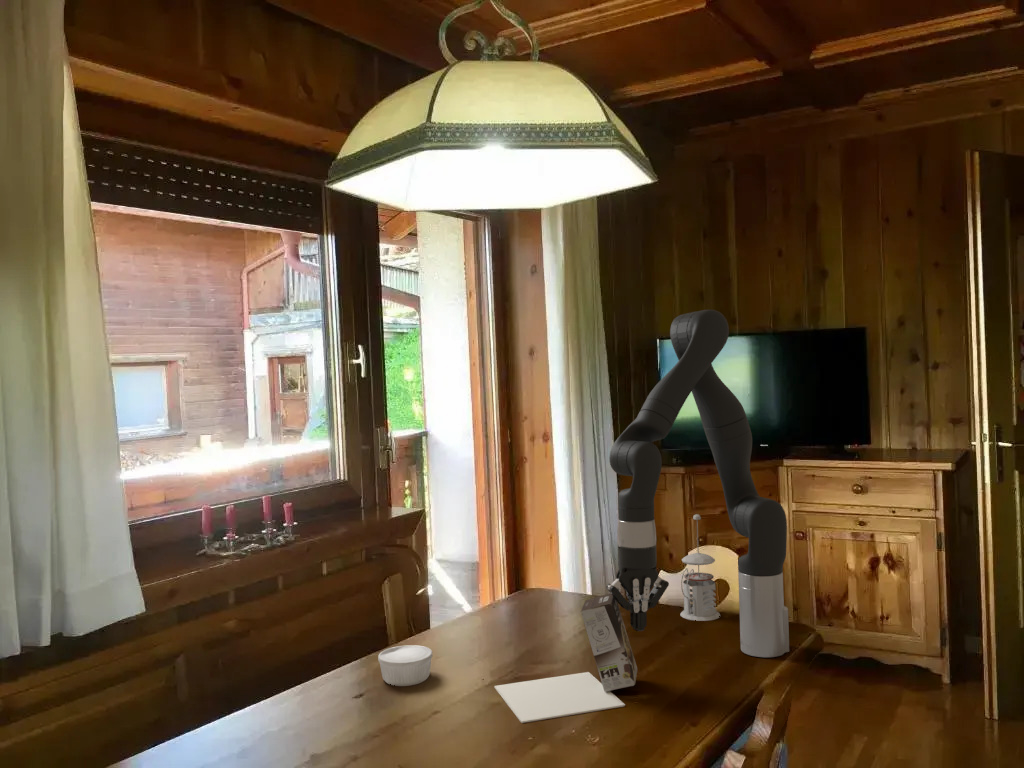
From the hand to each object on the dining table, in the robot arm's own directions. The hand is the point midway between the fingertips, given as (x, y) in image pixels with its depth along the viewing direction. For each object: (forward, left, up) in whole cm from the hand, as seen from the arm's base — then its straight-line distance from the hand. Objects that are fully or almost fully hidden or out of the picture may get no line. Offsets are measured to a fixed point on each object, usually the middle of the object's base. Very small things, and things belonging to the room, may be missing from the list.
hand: (638, 629), depth 168 cm
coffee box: (+4, 0, -10) cm, 11 cm away
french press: (-32, -35, -11) cm, 49 cm away
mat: (+17, 0, -11) cm, 20 cm away
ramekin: (+43, -21, -11) cm, 49 cm away
